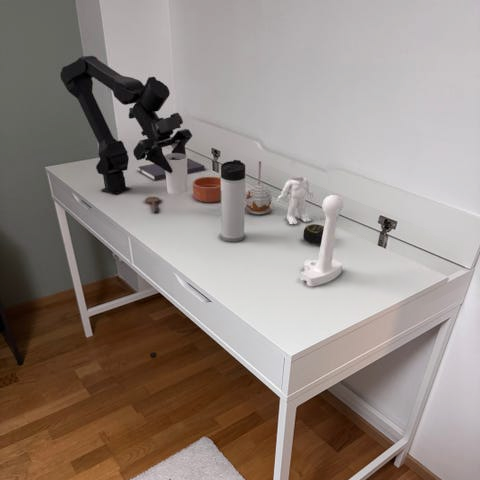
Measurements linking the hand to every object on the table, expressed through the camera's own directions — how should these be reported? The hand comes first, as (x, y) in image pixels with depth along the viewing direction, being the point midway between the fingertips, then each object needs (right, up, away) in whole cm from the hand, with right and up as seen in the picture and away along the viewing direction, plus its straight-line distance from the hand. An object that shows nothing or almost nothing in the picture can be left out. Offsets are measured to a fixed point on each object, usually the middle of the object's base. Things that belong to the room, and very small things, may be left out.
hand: (179, 169), depth 132 cm
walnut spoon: (-10, -7, +12) cm, 17 cm away
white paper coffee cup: (-1, -5, +5) cm, 7 cm away
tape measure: (+38, -22, -6) cm, 45 cm away
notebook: (-8, +13, +41) cm, 44 cm away
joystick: (+36, -32, -21) cm, 53 cm away
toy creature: (+34, -13, +5) cm, 37 cm away
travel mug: (+15, -20, -5) cm, 26 cm away
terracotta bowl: (+7, -3, +19) cm, 21 cm away
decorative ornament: (+23, -9, +11) cm, 27 cm away
